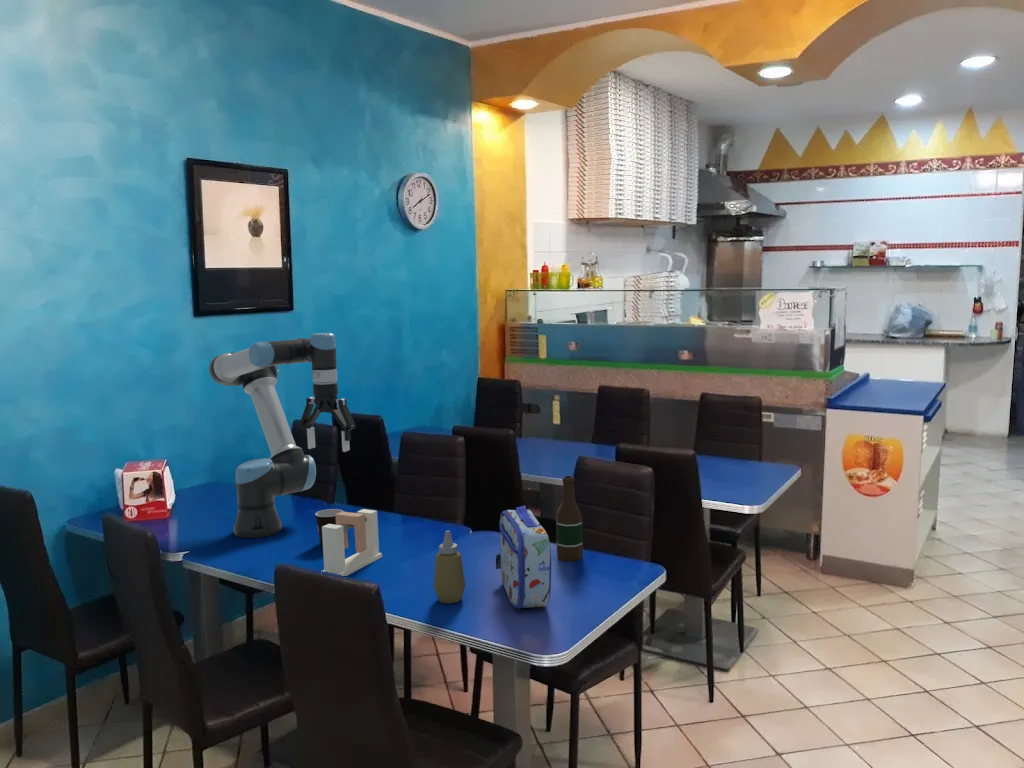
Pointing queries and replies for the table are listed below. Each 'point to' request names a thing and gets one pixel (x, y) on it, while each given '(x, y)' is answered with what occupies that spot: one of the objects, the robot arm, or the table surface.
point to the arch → (359, 527)
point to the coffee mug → (325, 520)
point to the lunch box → (524, 559)
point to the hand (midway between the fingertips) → (328, 449)
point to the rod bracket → (335, 546)
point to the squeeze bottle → (449, 572)
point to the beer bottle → (569, 525)
